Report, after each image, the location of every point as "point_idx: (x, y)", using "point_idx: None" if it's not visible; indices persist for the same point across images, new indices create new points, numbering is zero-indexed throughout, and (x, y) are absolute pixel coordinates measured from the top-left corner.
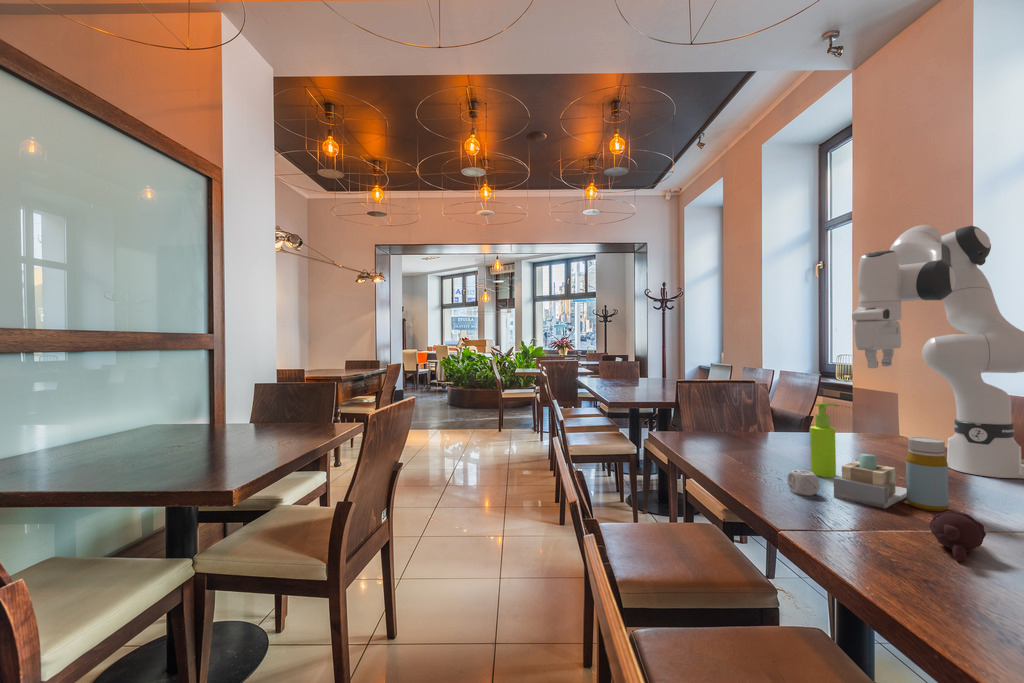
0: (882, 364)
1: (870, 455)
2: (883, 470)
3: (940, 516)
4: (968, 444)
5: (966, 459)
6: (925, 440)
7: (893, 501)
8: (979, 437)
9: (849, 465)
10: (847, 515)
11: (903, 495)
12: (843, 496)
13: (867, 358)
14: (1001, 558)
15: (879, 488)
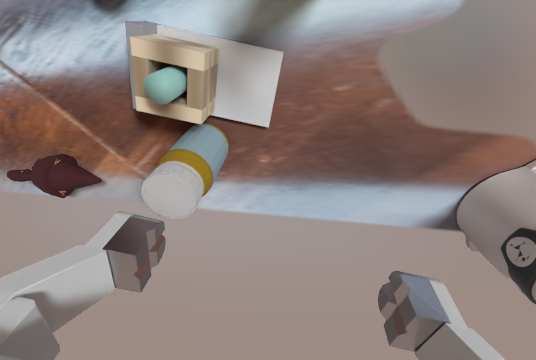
0: (397, 280)
1: (161, 93)
2: (161, 110)
3: (37, 171)
4: (518, 223)
5: (496, 201)
6: (165, 197)
7: None
8: (513, 249)
9: (149, 50)
10: (70, 60)
11: (226, 117)
12: None
13: (48, 264)
14: (86, 191)
15: (133, 101)
